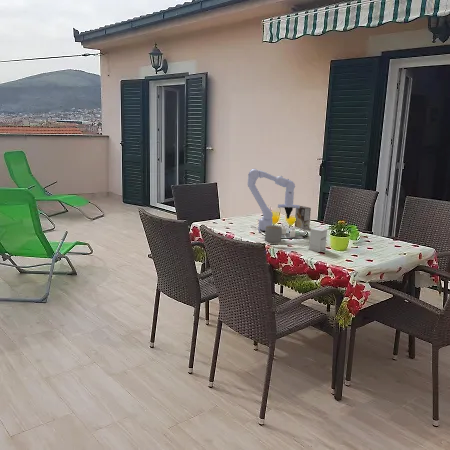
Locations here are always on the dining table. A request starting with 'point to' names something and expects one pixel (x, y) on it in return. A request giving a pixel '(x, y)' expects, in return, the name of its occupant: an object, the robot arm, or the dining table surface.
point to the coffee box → (302, 217)
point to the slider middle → (283, 230)
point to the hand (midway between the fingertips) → (287, 218)
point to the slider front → (292, 233)
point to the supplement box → (317, 239)
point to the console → (287, 235)
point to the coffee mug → (273, 234)
